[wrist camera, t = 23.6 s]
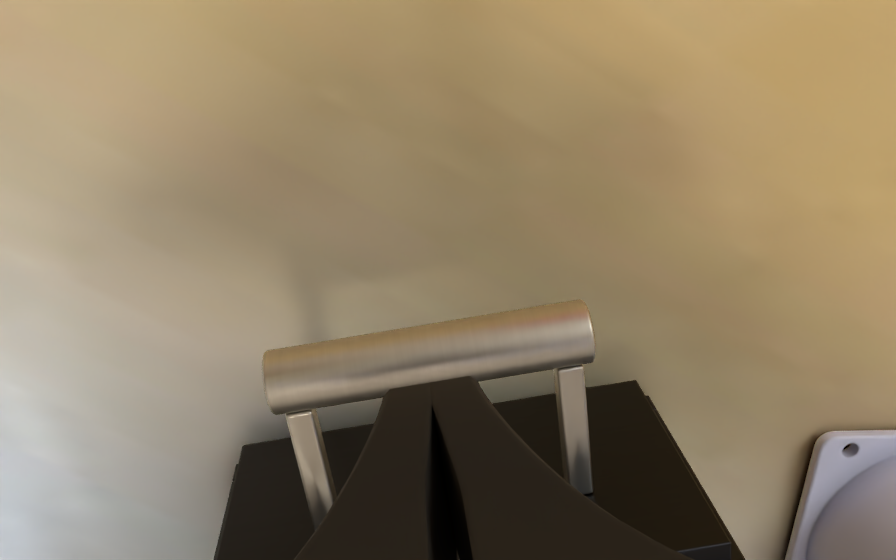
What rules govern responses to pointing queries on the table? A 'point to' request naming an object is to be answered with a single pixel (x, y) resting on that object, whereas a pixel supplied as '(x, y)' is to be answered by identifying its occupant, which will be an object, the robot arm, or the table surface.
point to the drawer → (534, 419)
